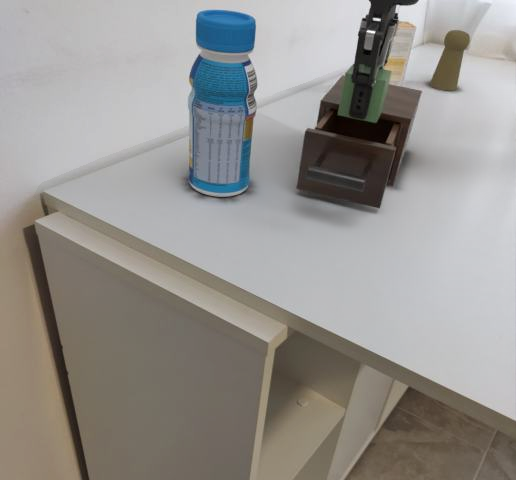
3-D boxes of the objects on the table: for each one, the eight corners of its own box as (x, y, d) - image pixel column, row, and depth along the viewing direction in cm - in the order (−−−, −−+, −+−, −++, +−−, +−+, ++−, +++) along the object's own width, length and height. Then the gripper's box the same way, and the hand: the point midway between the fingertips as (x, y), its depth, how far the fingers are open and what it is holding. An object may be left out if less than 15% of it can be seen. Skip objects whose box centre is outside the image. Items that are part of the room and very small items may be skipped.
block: (345, 104, 72) (353, 63, 68) (382, 111, 71) (392, 70, 67) (337, 115, 68) (345, 72, 65) (376, 123, 67) (386, 80, 64)
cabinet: (392, 186, 78) (411, 118, 71) (309, 167, 80) (320, 100, 74) (405, 152, 88) (422, 90, 82) (331, 136, 91) (342, 75, 84)
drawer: (372, 228, 66) (388, 167, 61) (284, 206, 68) (292, 146, 63) (393, 170, 80) (408, 117, 75) (320, 154, 82) (329, 101, 77)
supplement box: (391, 91, 114) (408, 20, 105) (399, 98, 110) (417, 26, 102) (354, 89, 112) (368, 17, 104) (361, 97, 109) (377, 23, 100)
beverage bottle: (205, 203, 68) (210, 25, 55) (176, 176, 73) (175, 7, 60) (261, 192, 72) (278, 23, 59) (230, 167, 77) (239, 6, 64)
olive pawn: (455, 92, 118) (473, 36, 110) (427, 87, 119) (443, 31, 112) (457, 85, 122) (475, 31, 115) (431, 80, 123) (446, 26, 116)
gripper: (373, -61, 64) (344, 90, 75) (349, -53, 53) (320, 121, 65) (436, -52, 62) (397, 101, 74) (424, -42, 52) (381, 134, 63)
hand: (361, 110), depth 69 cm, fingers closed on block, 5 cm apart
